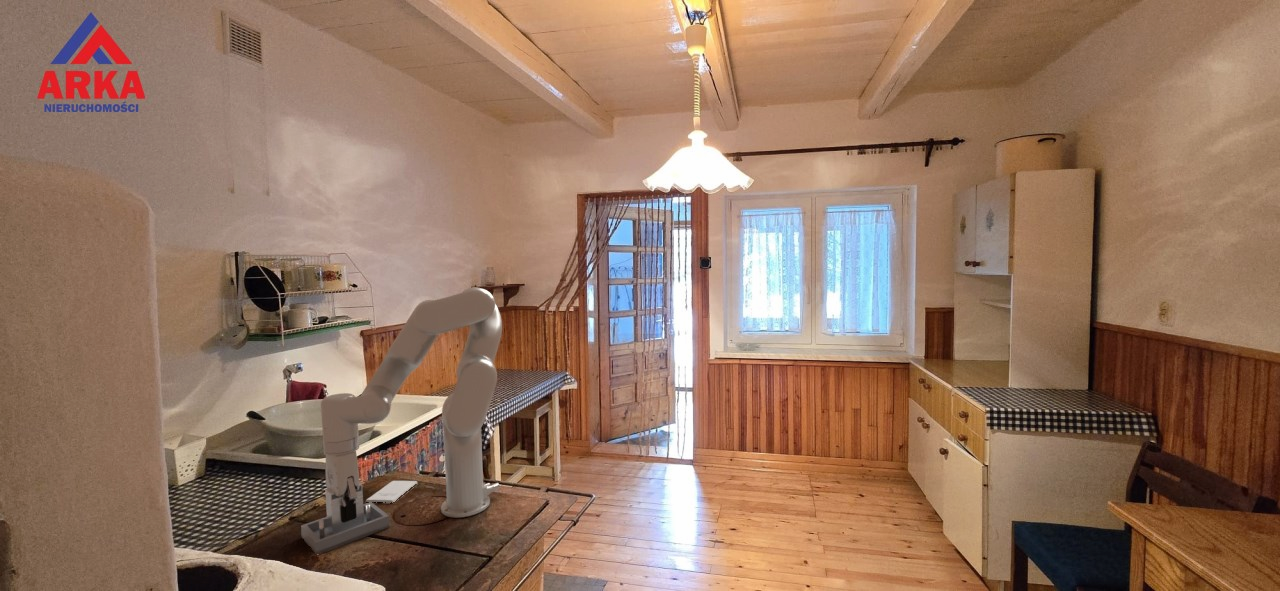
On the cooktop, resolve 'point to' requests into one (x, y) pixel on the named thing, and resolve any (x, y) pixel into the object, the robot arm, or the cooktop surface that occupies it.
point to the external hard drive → (391, 491)
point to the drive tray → (326, 541)
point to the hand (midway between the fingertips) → (345, 516)
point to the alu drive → (335, 511)
